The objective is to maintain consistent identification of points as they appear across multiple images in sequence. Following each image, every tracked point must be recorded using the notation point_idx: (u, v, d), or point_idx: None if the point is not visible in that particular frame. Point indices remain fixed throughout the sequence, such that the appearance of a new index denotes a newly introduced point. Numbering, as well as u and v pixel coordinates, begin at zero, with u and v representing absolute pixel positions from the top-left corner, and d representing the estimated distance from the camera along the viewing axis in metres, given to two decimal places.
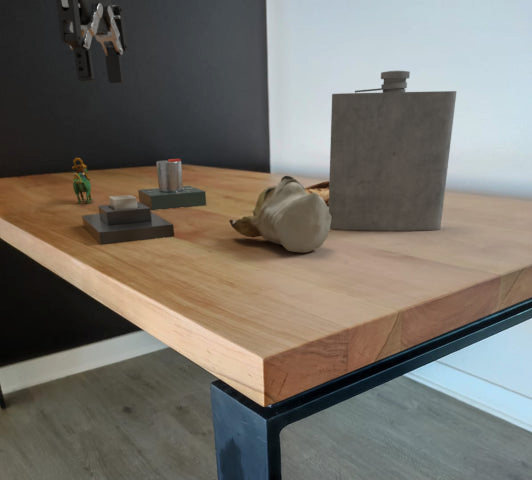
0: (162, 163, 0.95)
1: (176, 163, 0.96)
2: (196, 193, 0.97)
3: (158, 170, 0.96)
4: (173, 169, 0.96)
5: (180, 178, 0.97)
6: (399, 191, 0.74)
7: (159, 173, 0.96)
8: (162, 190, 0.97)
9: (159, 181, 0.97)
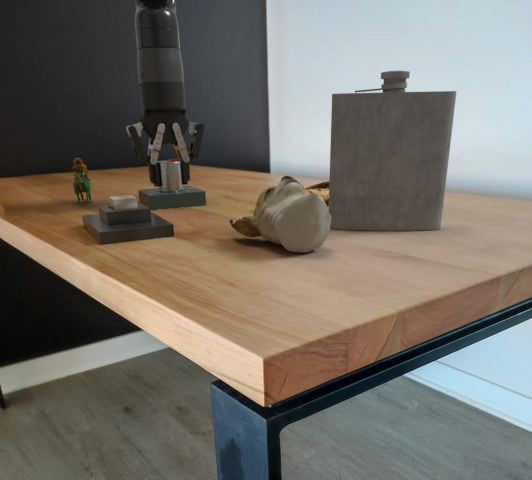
0: (162, 163, 0.95)
1: (176, 163, 0.96)
2: (196, 193, 0.97)
3: None
4: (173, 169, 0.96)
5: (180, 178, 0.97)
6: (399, 191, 0.74)
7: (159, 173, 0.96)
8: (162, 190, 0.97)
9: None
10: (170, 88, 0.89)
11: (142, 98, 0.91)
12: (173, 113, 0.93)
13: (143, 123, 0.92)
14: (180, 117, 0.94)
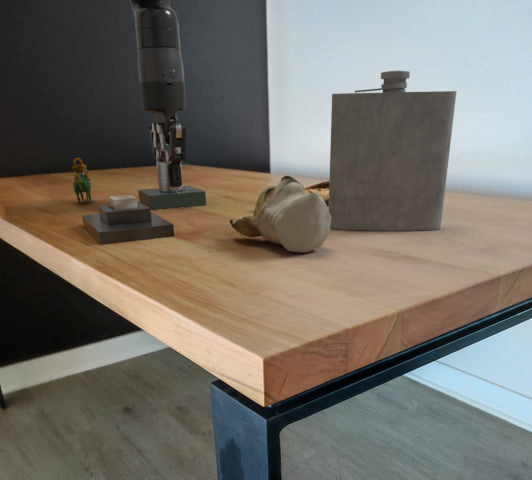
0: None
1: None
2: (196, 193, 0.97)
3: None
4: None
5: None
6: (399, 191, 0.74)
7: None
8: (180, 189, 0.98)
9: None
10: None
11: (173, 97, 0.90)
12: None
13: (178, 122, 0.91)
14: None
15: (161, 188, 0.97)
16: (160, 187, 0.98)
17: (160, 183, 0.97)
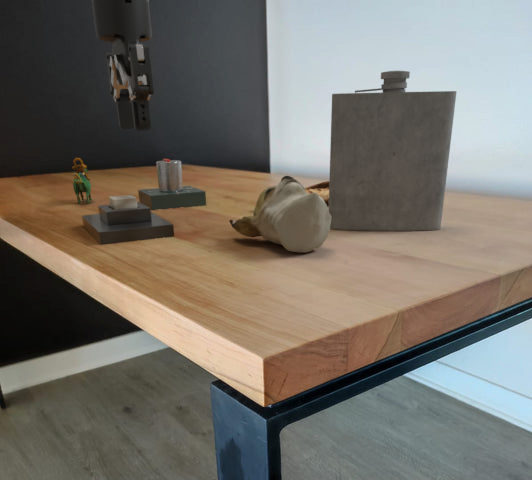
0: (179, 162, 0.96)
1: None
2: (196, 193, 0.97)
3: (176, 170, 0.96)
4: None
5: None
6: (399, 191, 0.74)
7: (177, 173, 0.96)
8: (180, 189, 0.98)
9: (176, 181, 0.97)
10: None
11: (134, 19, 0.71)
12: None
13: None
14: None
15: (161, 188, 0.97)
16: (160, 187, 0.98)
17: (160, 183, 0.97)
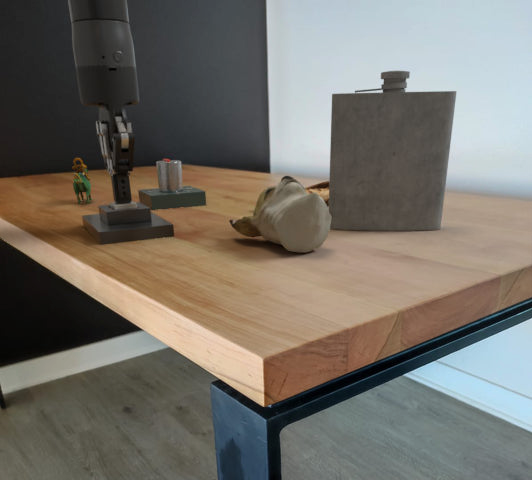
0: (179, 162, 0.96)
1: None
2: (196, 193, 0.97)
3: (176, 170, 0.96)
4: None
5: None
6: (399, 191, 0.74)
7: (177, 173, 0.96)
8: (180, 189, 0.98)
9: (176, 181, 0.97)
10: None
11: (119, 87, 0.68)
12: None
13: (126, 120, 0.69)
14: None
15: (161, 188, 0.97)
16: (160, 187, 0.98)
17: (160, 183, 0.97)
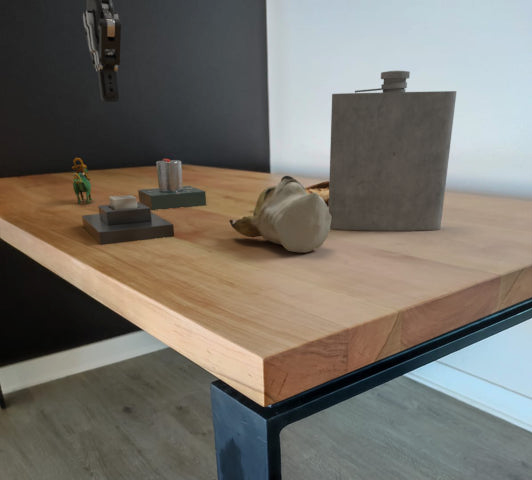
0: (179, 162, 0.96)
1: None
2: (196, 193, 0.97)
3: (176, 170, 0.96)
4: None
5: None
6: (399, 191, 0.74)
7: (177, 173, 0.96)
8: (180, 189, 0.98)
9: (176, 181, 0.97)
10: None
11: None
12: None
13: (112, 8, 0.69)
14: None
15: (161, 188, 0.97)
16: (160, 187, 0.98)
17: (160, 183, 0.97)
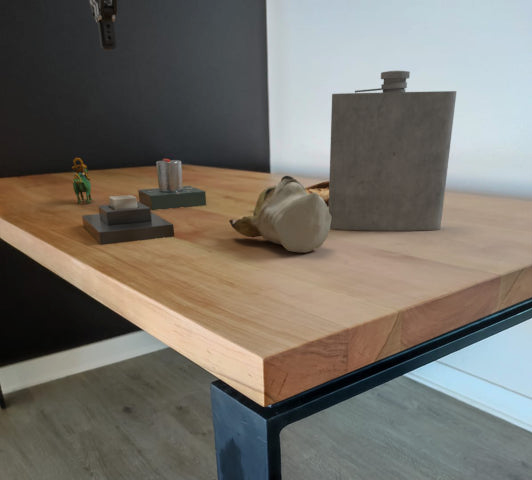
0: (179, 162, 0.96)
1: None
2: (196, 193, 0.97)
3: (176, 170, 0.96)
4: None
5: None
6: (399, 191, 0.74)
7: (177, 173, 0.96)
8: (180, 189, 0.98)
9: (176, 181, 0.97)
10: None
11: None
12: None
13: None
14: None
15: (161, 188, 0.97)
16: (160, 187, 0.98)
17: (160, 183, 0.97)
